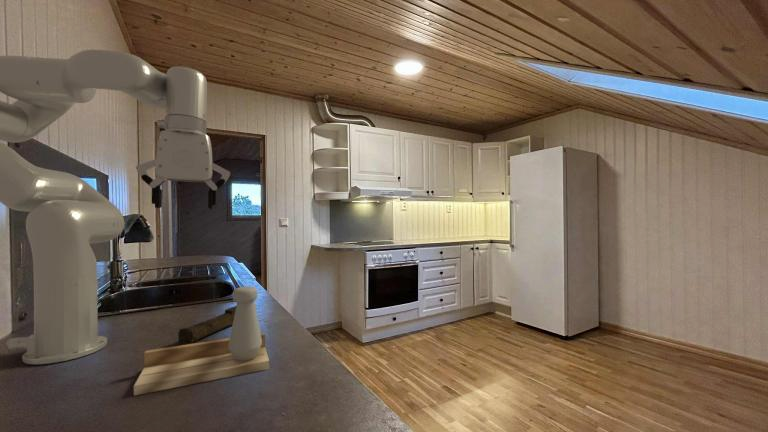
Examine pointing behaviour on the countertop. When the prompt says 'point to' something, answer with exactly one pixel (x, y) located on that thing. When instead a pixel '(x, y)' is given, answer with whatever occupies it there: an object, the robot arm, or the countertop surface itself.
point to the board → (194, 365)
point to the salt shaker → (245, 326)
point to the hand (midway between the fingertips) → (185, 208)
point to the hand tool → (206, 327)
